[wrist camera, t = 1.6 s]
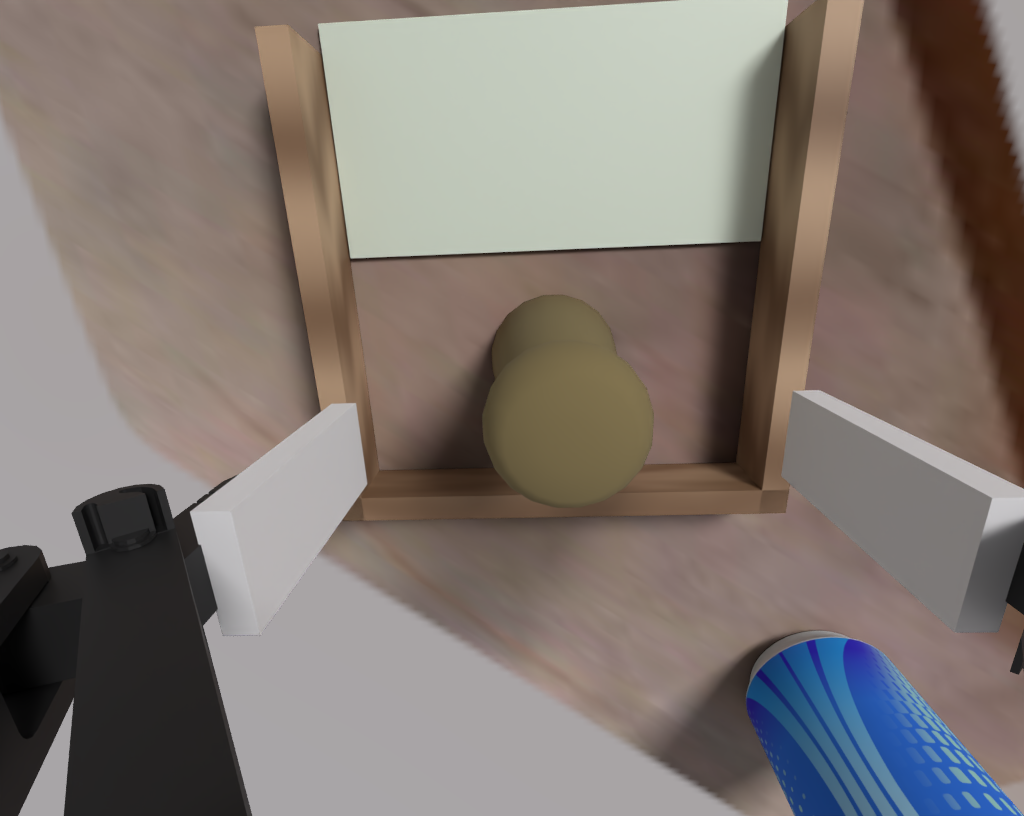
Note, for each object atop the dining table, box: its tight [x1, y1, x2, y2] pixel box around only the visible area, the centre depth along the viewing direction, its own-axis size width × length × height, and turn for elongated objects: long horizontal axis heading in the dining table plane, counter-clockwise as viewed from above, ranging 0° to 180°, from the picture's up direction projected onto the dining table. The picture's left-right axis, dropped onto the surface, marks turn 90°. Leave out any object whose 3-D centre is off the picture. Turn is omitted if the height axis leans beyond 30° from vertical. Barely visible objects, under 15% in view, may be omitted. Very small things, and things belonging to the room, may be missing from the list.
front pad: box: [318, 0, 788, 258], centre depth 21 cm, size 9×18×1 cm, turn 92°
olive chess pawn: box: [482, 295, 654, 508], centre depth 19 cm, size 6×6×11 cm
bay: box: [255, 0, 864, 521], centre depth 22 cm, size 20×21×3 cm
